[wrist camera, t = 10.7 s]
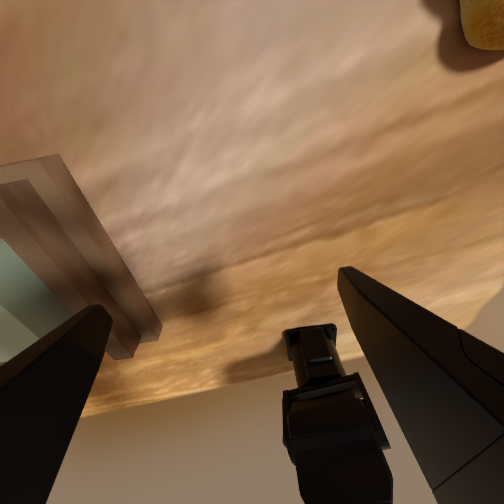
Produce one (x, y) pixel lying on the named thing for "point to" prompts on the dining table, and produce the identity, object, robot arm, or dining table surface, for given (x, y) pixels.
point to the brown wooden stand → (72, 250)
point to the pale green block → (24, 305)
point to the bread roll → (483, 23)
